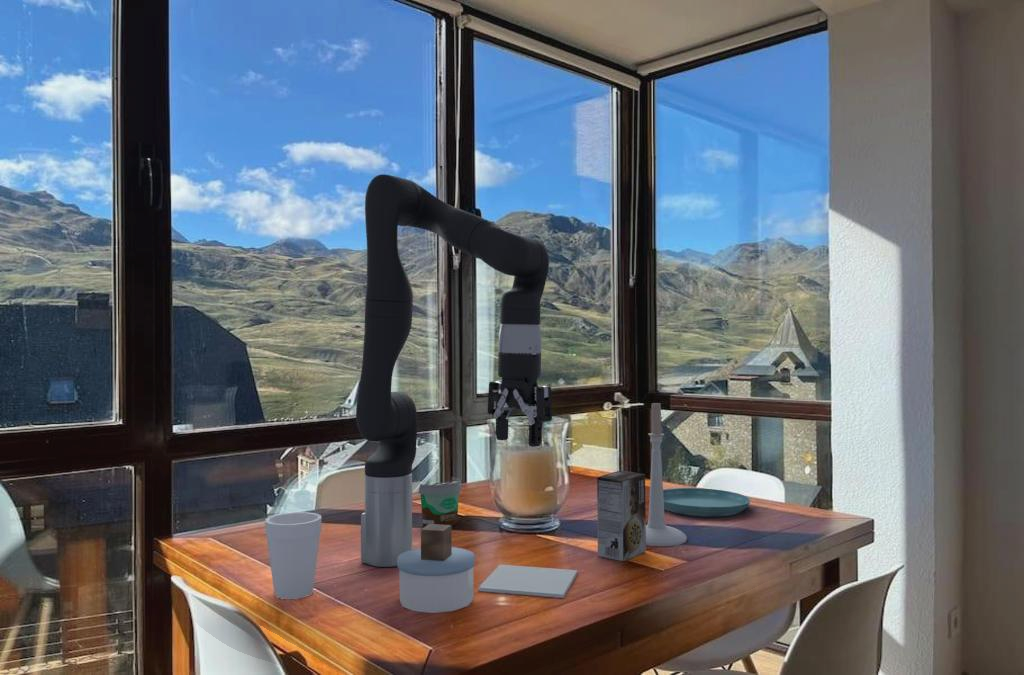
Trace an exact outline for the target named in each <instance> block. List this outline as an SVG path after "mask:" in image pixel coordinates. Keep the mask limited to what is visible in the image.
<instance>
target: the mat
mask: <svg viewBox="0 0 1024 675" xmlns="http://www.w3.org/2000/svg"><path fill="white" fill-rule="evenodd" d="M577 575H578V570H577V569H566V568H564V569H563V568H552V567H540V566H539V567H537V566H525V565H523V566H522V565H512V564H499V565H498V566H497V567H496V568H495V569H494V570H493V571H492V572H491V573H490V574H489V575H488V577H487V578H486V579H484V581H483V582H482V583H481V584H480V585H479V586H478V592H486V593H487V592H488V593H498V594H509V595H510V594H511V595H521V596H522V595H523V596H534V597H544V598H545V597H546V598H557V599H564V598H565V596H566V595H567V593H568V591H569V589H570V587H571V586H572V584H573V583H574V581H575V579H576V577H577Z"/></svg>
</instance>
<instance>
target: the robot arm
mask: <svg viewBox="0 0 1024 675" xmlns="http://www.w3.org/2000/svg"><path fill="white" fill-rule="evenodd" d="M364 199H365V201H364V217H365V218H364V219H365V235H366V236H365V237H366V286H365V296H364V297H365V302H364V334H363V335H364V336H363V348H362V349H363V350H362V361H361V362H362V364H361V373H360V380H359V386H358V392H357V400H356V407H355V409H356V410H355V419H356V426H357V429H358V432H359V433H360V435H361V436H362V437H363V438H364V439H365V440H367V441H370V442H379V445H378V447H377V448H376V450H375V451H374V453H372V454H371V455H370V456H369V457H368V458H367V459H366V460H365V462H364V512H362V513H361V514H360V563H362V564H366V565H369V566H372V567H377V568H378V567H379V568H381V567H382V568H388V567H389V568H390V567H392V568H393V567H398V566H397V558H398V556H399V555H400V554H402V553H404V552H406V551H409V550H413V464H414V462H415V459H416V456H417V455H416V454H417V441H418V439H417V438H418V412H417V408H416V404H415V402H414V400H413V398H412V397H411V396H410V395H409V394H407V393H405V392H402V391H392V381H393V373H394V368H395V366H396V362H397V360H398V358H399V356H400V354H401V352H402V350H403V348H404V346H405V345H406V342H407V339H408V337H409V336H410V332H411V331H412V330H411V329H412V323H413V314H414V313H413V311H414V310H413V308H414V307H413V306H414V291H413V289H412V285H411V282H410V279H409V276H408V274H407V272H406V269H405V266H404V263H403V262H402V259H401V256H400V252H399V245H398V231H399V227H412V228H418V229H420V230H425V231H428V232H431V233H434V234H436V235H437V236H439V237H441V239H443V241H445V242H446V243H448V245H450V246H451V247H454V248H455V249H457V250H458V251H460V252H463V253H465V254H467V255H469V256H471V257H474V258H475V259H480V260H481V261H482V262H484V263H485V264H486V265H488V266H489V267H490V268H492V269H494V270H496V271H497V272H500V273H501V274H504V275H507V276H511V277H512V276H513V277H514V278H513V281H512V282H513V283H512V286H511V289H510V290H508V291H505V292H504V293H503V294H502V296H501V298H500V318H499V319H500V325H499V333H498V350H497V351H498V352H497V354H498V355H497V356H498V358H497V376H498V377H499V378H501V380H497V381H490V382H489V384H488V396H487V397H488V398H487V414H488V415H492V416H493V418H494V419H495V436H496V437H495V438H496V440H497V441H507V440H508V439H509V419H508V417H509V416H510V414H511V412H512V411H513V410H515V409H517V410H521V411H522V414H523V415H526V418H527V419H528V422H529V424H528V446H529V447H535V448H536V447H540V446H541V443H542V440H543V425H544V424H545V423H547V422H551V421H552V419H553V407H552V405H553V404H552V387H551V386H549V385H543V386H542V385H541V386H539V384H538V379H539V378H540V377H541V375H542V369H541V368H542V332H541V331H542V330H541V301H542V298H543V295H544V290H545V286H546V282H547V278H548V273H549V268H550V259H549V258H550V257H549V253H548V250H547V247H546V245H545V244H544V243H543V242H542V241H541V240H540V239H537V238H534V237H528V236H523V235H518V234H515V233H512V232H509V231H507V230H504V229H502V228H501V227H500V226H499V225H497V224H496V223H495V222H492V221H491V220H488V219H486V218H484V217H481V216H479V215H476V214H473V213H471V212H469V211H466V210H463V209H461V208H458V207H456V206H454V205H451V204H449V203H446V202H445V201H443V200H441V199H439V198H438V197H437V196H435V195H434V194H432V193H431V192H430V191H428V190H426V189H425V188H424V187H423V186H421V185H419V184H418V183H417V182H415V181H412V180H409V179H406V178H404V177H399V176H395V175H391V174H385V173H384V174H383V173H382V174H378V175H376V176H374V177H373V178H372V179H371V180H370V182H369V184H368V186H367V189H366V192H365V198H364Z"/></svg>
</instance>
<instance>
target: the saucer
mask: <svg viewBox="0 0 1024 675" xmlns="http://www.w3.org/2000/svg"><path fill="white" fill-rule="evenodd" d="M663 499H664V510H665V511H668V512H670V511H671V513H673V512H674V513H673V514H677V513H678V515H682V514H683V516H691V517H703V518H704V517H705V518H707V517H708V518H719V517H721V518H722V517H730V516H734V515H737V514H740V513H741V512H743V511H744V510H746V508H748V507H749V505H750V504H751V498H749V496H747V495H744V494H741V493H738V492H733V491H728V490H722V489H716V488H715V489H714V488H713V489H712V488H701V487H700V488H699V487H698V488H697V487H681V488H680V487H679V488H678V487H676V488H667V489H666V488H665V489H663Z"/></svg>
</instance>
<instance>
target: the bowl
mask: <svg viewBox="0 0 1024 675" xmlns="http://www.w3.org/2000/svg"><path fill="white" fill-rule="evenodd" d="M474 587H475V586H474V567H473V568H471V569H470V570H467V571H465V572H462V573H458V574H452V575H445V576H420V575H413V574H408V573H405V572H403V571H401V570H400V569H399V602H400V604H401V607H402V608H405V609H407V610H409V611H412V612H416V613H417V612H419V613H429V614H430V613H431V614H437V613H446V612H455V611H458V610H460V609H463V608H466V607H468V606H469V605H470V604H471V603H472V602H473V601H474V599H475V598H474V595H475V594H474V592H475V591H474Z"/></svg>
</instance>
